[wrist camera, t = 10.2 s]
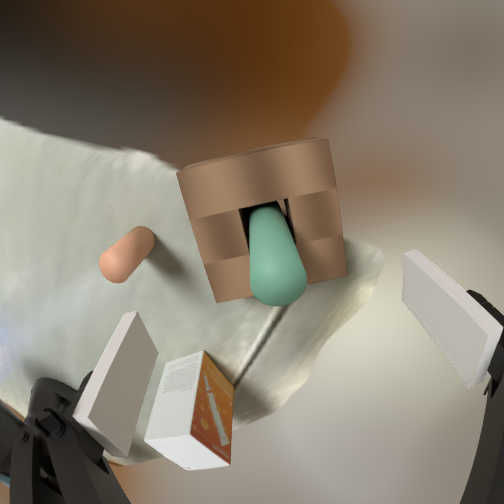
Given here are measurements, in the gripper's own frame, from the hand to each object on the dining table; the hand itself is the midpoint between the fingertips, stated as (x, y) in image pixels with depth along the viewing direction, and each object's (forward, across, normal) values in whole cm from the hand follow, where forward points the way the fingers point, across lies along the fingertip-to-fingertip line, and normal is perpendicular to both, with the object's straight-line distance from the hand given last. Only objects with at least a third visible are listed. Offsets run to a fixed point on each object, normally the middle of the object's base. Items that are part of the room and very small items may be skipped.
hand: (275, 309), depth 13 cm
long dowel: (+16, +1, 0) cm, 16 cm away
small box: (+17, -12, -20) cm, 29 cm away
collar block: (+16, +1, 0) cm, 16 cm away
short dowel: (+16, -12, 0) cm, 21 cm away
